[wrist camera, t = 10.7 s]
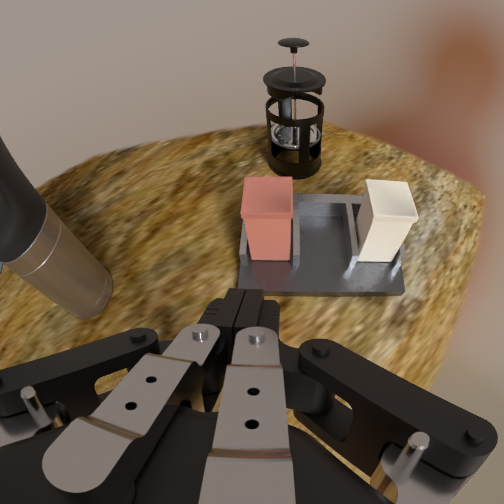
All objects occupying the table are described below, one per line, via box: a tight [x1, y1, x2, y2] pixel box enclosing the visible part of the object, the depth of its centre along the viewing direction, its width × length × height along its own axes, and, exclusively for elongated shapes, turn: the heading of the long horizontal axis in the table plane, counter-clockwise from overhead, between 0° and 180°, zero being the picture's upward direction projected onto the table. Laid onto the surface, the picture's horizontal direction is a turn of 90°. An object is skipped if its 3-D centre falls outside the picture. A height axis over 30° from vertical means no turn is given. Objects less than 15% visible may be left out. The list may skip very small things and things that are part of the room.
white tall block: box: [355, 179, 418, 262], centre depth 34 cm, size 5×5×10 cm
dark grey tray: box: [238, 193, 407, 297], centre depth 39 cm, size 14×22×4 cm, turn 86°
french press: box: [263, 38, 326, 179], centre depth 41 cm, size 12×9×23 cm
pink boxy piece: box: [240, 177, 293, 260], centre depth 36 cm, size 5×5×10 cm
